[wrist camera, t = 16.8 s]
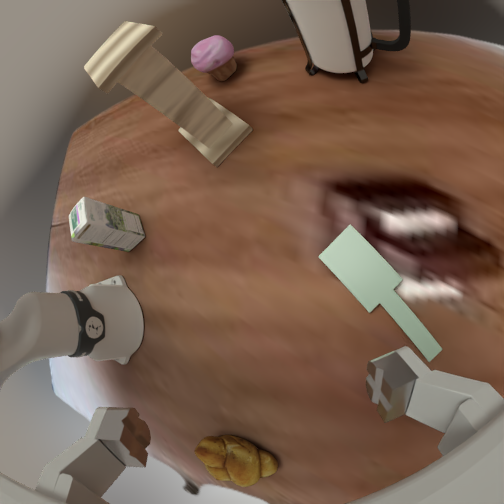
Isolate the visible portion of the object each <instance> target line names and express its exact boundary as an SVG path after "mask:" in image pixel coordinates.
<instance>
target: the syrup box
mask: <svg viewBox="0 0 504 504" xmlns="http://www.w3.org/2000/svg"><path fill="white" fill-rule="evenodd" d="M69 222H70V230H71V237H72V241H73V242H78V243H83V244H89V245H94V246H99V247H105V248H111V249H116V250H121V251H127V252H129V251H130V250H131V249H133V248H134V247H135V246H136V245H137V244H138V243H139V242H140V241H141V240H142V239H143V238H145V234H144V231H143V227H142V224H141V221H140V217H139V215H138V214H136V213H133V212H130V211H127V210H123V209H120V208H117V207H114V206H111V205H108V204H105V203H102V202H99V201H96V200H93V199H90V198H87V197H83V198H82V199H81V200H80V201H79V202H78V203H77V204H76V206H75V207H74V208H73V210H72V211H71V213H70V215H69Z"/></svg>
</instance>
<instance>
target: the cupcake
mask: <svg viewBox="0 0 504 504" xmlns="http://www.w3.org/2000/svg"><path fill="white" fill-rule="evenodd" d="M191 54H192V56H191V61H192V64H193V65H194V67H195V68H196V69H197V70H199V71H201V72H207V73H209V74H211V75H212V76H214V77H215V78H216V79H217V80H219V81H225V80H226V79H227V78H228V77H230V76H231V75H232V74H233V73H234V72H235V71H236V68H237V64H236V62H235V60H234V57H233V55H234V49H233V45H232V44H231V43H230V42H229V41H228V40H227V39H225V38H224V37H221V36H218V35H216V36H212V37H209V38H207V39H204V40H202V41H200V42H199V43H197V44H196V45H195V46H194V47H193V49H192V51H191Z"/></svg>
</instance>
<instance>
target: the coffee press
mask: <svg viewBox="0 0 504 504" xmlns="http://www.w3.org/2000/svg"><path fill="white" fill-rule="evenodd" d="M282 2H283V4H284V6H285V8H286V10H287V12H288V14H289V16H290V18H291V20H292V22H293V25H294V27H295V29H296V31H297V33H298V36H299V38H300V41H301V43H302V45H303V48H304V50H305V53H306V56H307V58H308V63H307V66H306V68H305V70H306V71H307V72H308V73H309V75H314V74H315V73H316V72H317V71H318V69H319V68H321V69H323V70H325V71H329V72H334V73H349V72H354V73H355V75H356V77H357V78H358V80H359V81H360V82H361V83H363V82H365V81H367V80H368V77H367V75H366V73H365V71H364V68H363V67H365V66H366V65H367V64H368V63H369V62H370V61H371V59H372V56H373V51H374V50H375V49H380V50H386V51H400V50H403V49H404V48H406V47H407V45H408V44H409V41H410V33H411V20H410V4H409V0H397V3H398V14H399V30H400V35H399V37H398V39H396V40H394V41H384V40H378V39H376V38H373V36H372V33H371V31H370V25H369V18H368V13H367V8H366V2H365V0H282ZM312 63H313V64H314V67H313V68H312ZM311 68H312V69H311Z"/></svg>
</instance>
